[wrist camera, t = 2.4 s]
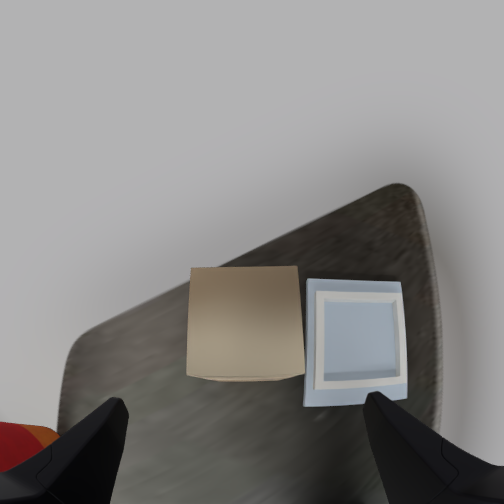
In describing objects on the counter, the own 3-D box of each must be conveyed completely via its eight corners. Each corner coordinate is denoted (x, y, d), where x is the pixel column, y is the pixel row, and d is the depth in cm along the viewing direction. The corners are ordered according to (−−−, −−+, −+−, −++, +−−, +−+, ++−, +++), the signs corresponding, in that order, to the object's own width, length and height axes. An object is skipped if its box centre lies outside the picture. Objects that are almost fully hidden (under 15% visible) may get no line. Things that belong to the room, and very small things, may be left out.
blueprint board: (402, 398, 18) (411, 398, 17) (303, 406, 19) (307, 407, 17) (396, 285, 23) (404, 278, 21) (306, 281, 23) (309, 274, 22)
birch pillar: (278, 380, 20) (305, 373, 10) (219, 381, 20) (186, 374, 10) (276, 324, 22) (297, 265, 12) (219, 325, 22) (191, 267, 12)
